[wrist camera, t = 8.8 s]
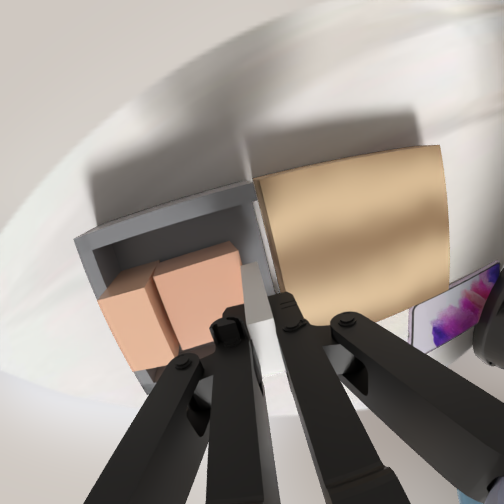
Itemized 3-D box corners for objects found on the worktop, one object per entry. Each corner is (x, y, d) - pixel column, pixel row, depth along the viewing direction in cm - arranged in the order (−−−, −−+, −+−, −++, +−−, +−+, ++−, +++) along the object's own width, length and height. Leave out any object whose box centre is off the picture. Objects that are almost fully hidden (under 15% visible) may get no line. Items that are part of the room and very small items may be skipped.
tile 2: (248, 307, 21) (259, 325, 18) (181, 328, 20) (182, 350, 17) (229, 240, 19) (238, 250, 16) (156, 263, 18) (153, 277, 16)
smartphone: (410, 305, 24) (501, 259, 24) (405, 302, 25) (496, 257, 25) (409, 364, 26) (495, 312, 26) (404, 359, 26) (491, 309, 27)
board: (428, 277, 24) (448, 289, 21) (288, 329, 23) (298, 349, 20) (416, 145, 20) (439, 144, 17) (252, 178, 19) (259, 179, 17)
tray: (283, 331, 23) (295, 360, 19) (154, 363, 22) (147, 394, 18) (245, 180, 19) (252, 182, 16) (97, 226, 19) (73, 239, 15)
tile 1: (177, 362, 16) (132, 371, 16) (182, 322, 21) (146, 331, 21) (144, 287, 14) (97, 300, 14) (159, 259, 19) (120, 271, 19)
